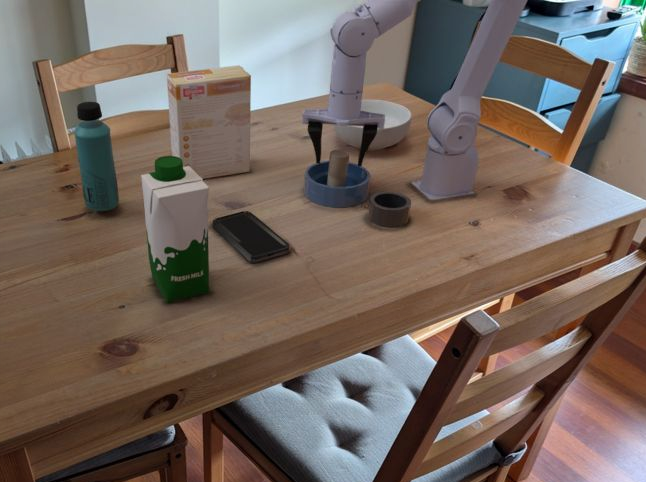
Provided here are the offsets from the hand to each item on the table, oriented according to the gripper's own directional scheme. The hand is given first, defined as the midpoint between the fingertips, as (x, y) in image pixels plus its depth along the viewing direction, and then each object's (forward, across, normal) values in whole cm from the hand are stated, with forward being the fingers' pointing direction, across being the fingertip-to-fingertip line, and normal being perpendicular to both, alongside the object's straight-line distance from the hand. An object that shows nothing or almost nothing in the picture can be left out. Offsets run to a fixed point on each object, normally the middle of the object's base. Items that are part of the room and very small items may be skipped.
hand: (339, 162), depth 128 cm
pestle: (+6, 0, 0) cm, 6 cm away
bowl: (+7, 0, 0) cm, 7 cm away
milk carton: (+7, -22, -36) cm, 43 cm away
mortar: (+7, +10, -8) cm, 15 cm away
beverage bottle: (+7, -42, -14) cm, 45 cm away
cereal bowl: (+7, +6, +26) cm, 28 cm away
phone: (+7, -14, -19) cm, 25 cm away
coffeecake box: (+7, -26, +7) cm, 28 cm away
